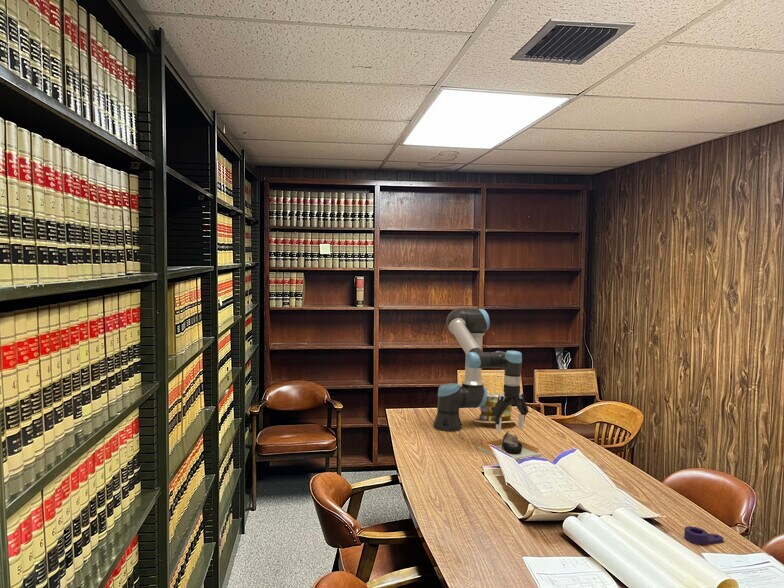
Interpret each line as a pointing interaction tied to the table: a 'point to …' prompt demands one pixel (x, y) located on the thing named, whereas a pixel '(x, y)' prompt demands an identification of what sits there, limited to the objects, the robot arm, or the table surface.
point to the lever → (701, 536)
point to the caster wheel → (511, 444)
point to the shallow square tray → (526, 452)
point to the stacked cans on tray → (488, 410)
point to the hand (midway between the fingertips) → (509, 429)
